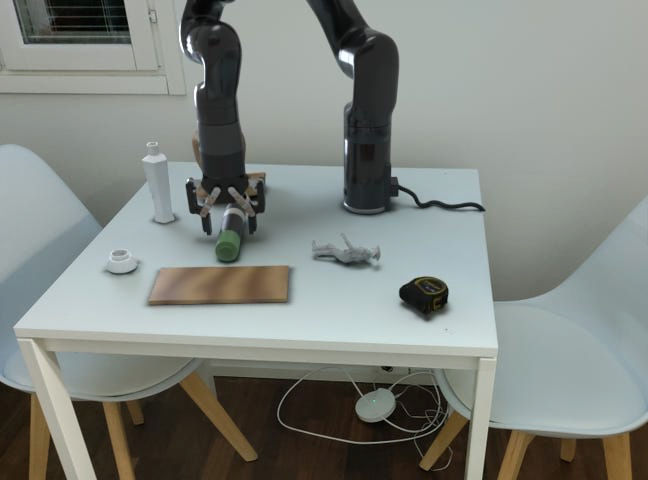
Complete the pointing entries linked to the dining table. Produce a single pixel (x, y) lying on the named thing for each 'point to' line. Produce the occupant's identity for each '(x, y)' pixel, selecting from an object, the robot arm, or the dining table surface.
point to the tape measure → (425, 294)
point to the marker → (230, 232)
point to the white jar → (121, 261)
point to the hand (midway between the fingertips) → (230, 233)
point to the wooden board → (220, 285)
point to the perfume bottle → (158, 183)
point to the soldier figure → (347, 251)
